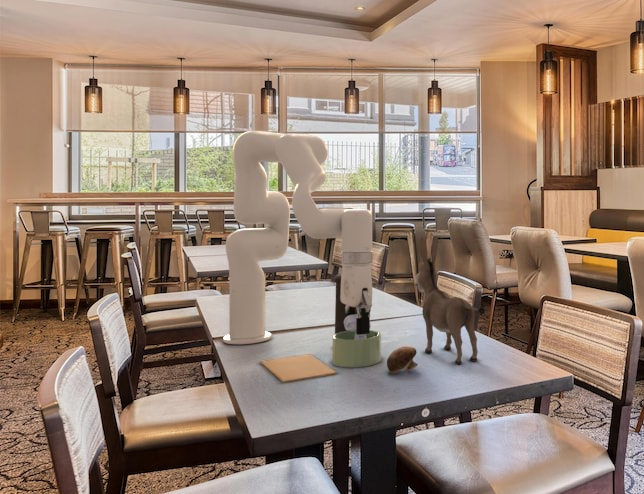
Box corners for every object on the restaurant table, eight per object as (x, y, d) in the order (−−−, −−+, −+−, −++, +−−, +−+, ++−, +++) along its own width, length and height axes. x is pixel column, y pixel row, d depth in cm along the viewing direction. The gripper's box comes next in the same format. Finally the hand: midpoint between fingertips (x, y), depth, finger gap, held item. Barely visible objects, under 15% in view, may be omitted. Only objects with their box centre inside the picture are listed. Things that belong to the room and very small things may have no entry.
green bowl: (326, 359, 155) (326, 333, 156) (369, 353, 162) (369, 327, 162) (342, 370, 146) (342, 342, 146) (388, 362, 152) (388, 336, 152)
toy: (429, 340, 176) (429, 234, 176) (499, 367, 148) (499, 241, 149) (403, 344, 171) (403, 235, 171) (471, 372, 143) (471, 242, 144)
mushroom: (430, 355, 147) (414, 334, 146) (416, 376, 139) (398, 355, 139) (407, 367, 150) (391, 347, 149) (392, 388, 143) (375, 367, 142)
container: (370, 343, 173) (370, 271, 173) (360, 351, 164) (360, 275, 164) (340, 342, 173) (340, 271, 174) (328, 350, 165) (328, 275, 165)
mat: (260, 362, 153) (260, 361, 153) (309, 355, 159) (309, 354, 159) (283, 382, 136) (283, 380, 136) (336, 373, 143) (336, 372, 143)
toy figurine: (343, 357, 157) (343, 309, 157) (369, 355, 158) (369, 308, 158) (343, 363, 150) (343, 313, 150) (370, 362, 151) (370, 312, 152)
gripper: (330, 257, 159) (330, 327, 159) (355, 262, 145) (355, 339, 145) (358, 255, 163) (358, 324, 163) (385, 260, 149) (385, 335, 149)
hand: (357, 330), depth 154 cm, fingers closed on toy figurine, 6 cm apart
